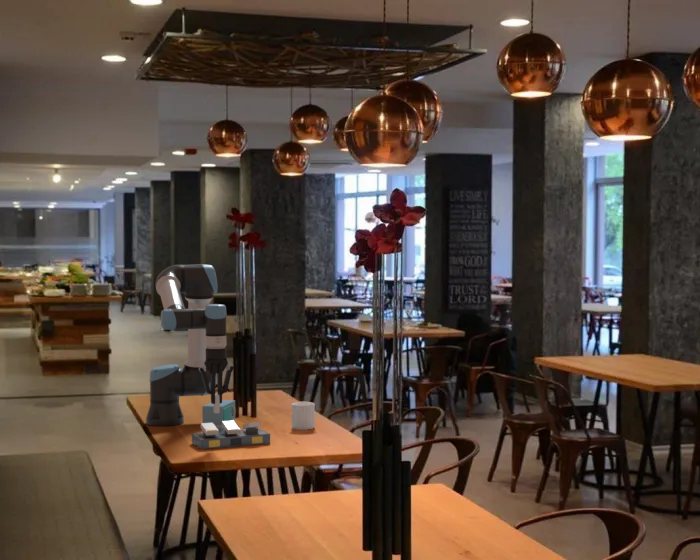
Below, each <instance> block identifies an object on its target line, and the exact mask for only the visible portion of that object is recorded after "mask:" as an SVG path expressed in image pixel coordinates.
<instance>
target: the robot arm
mask: <svg viewBox="0 0 700 560" xmlns="http://www.w3.org/2000/svg"><path fill="white" fill-rule="evenodd" d="M218 288H219V287H218V278H217V273H216V270H215V268H214V266H213V265H211V264H203V263H200V264H199V263H197V264H195V263H194V264H173V265H169V266H168V267H166V268H164V269H163V270H161V272H159V274H158V276H157V277H156V280H155V290H156V293H157V294H158V295H159V296H160V300H161V303H162V307H163V309H162V310H161V312H160V326H161V328H162V330H167V331H169V330H170V331H175V330H187V331H188V332H187V334H188V335H187V338H188V339H187V345H188V346H187V359H186V361H184V362H183V367H180V365H179V364H176V363H175V364H174V363H172V364H171V363H170V364H165V365H159V366H156V367H154V368H153V367H152V369H150V372H149V408H148V411H147V413H146V417H145V424H146V425H149V426H153V427H154V426H156V427H157V426H159V427H161V426H162V427H163V426H164V427H165V426H177V425H181V424H183V423H185V420H184V419H185V418H184V414H183V411H182V408H181V405H180V397H195V396H196V397H197V396H201V397H203V396H210V402H211V403H212V404H214V413H220V403H222V400H223V396H224V395H223V394H226V393H228V390H229V384H230V380H231V377H232V373H233V371H234V369H235V366H233V365H231V364H229V362H228V359H227V358H228V357H227V354H228V353H227V352H228V351H227V350H228V349H227V348H226V346H227V344H228V343H227V315H228V313H227V307H226V305H225V304H220V303H219V304H218V303H213V304H211V301H212V300H213V299H214V295H215V294H217V293H218ZM181 294H182V295H183V294H184V298H185V300H186V301H187V302H188V306H187V307H188V308H186V307H185V304H184V300H183V297H182V295H181ZM225 369H226V373H225V376H224V380H223V374H224V371H225ZM223 381H224V382H223ZM216 385H217V389H216ZM216 390H217V393H216Z"/></svg>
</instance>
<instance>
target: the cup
mask: <svg viewBox="0 0 700 560" xmlns="http://www.w3.org/2000/svg"><path fill="white" fill-rule="evenodd" d="M315 407H316V404H315V403H314V402H311V401H295V402H293V403H291V428H292V430H295V431H296V430H297V431H308V429H310V430H313V429H314V428H315V425H316V417H315V415H316V414H315Z"/></svg>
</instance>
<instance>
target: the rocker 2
mask: <svg viewBox="0 0 700 560" xmlns="http://www.w3.org/2000/svg"><path fill="white" fill-rule="evenodd" d="M222 426H223V428H224V429H225V431H226V432H227V434H239V433H240V430H241V428H240V427H239V426H238V425H237V423H236V420H235V421H234V420H231V421H222Z"/></svg>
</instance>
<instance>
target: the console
mask: <svg viewBox="0 0 700 560" xmlns="http://www.w3.org/2000/svg"><path fill="white" fill-rule="evenodd" d="M191 444H192V445H193V444H194V445H195V447H196V446H197V447H198V449H199V450H200V449H204V450H211V449H212V450H214V449H213V448H215V449H225V448H224V447H227V448H234V447H235V448H236V447H247V446H258V445H268V444H271V433H270V432H268V431H266V430H264V429H261V428H260V427H257V428H249V429H240V433H239V434H227V432H226V431H220V432H219V433H218V435H208V436H206V434H205V433H204V432H203V431H202V432H199V433H198V432H197V433H191ZM194 445H193V446H194ZM197 447H196V448H197Z"/></svg>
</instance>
